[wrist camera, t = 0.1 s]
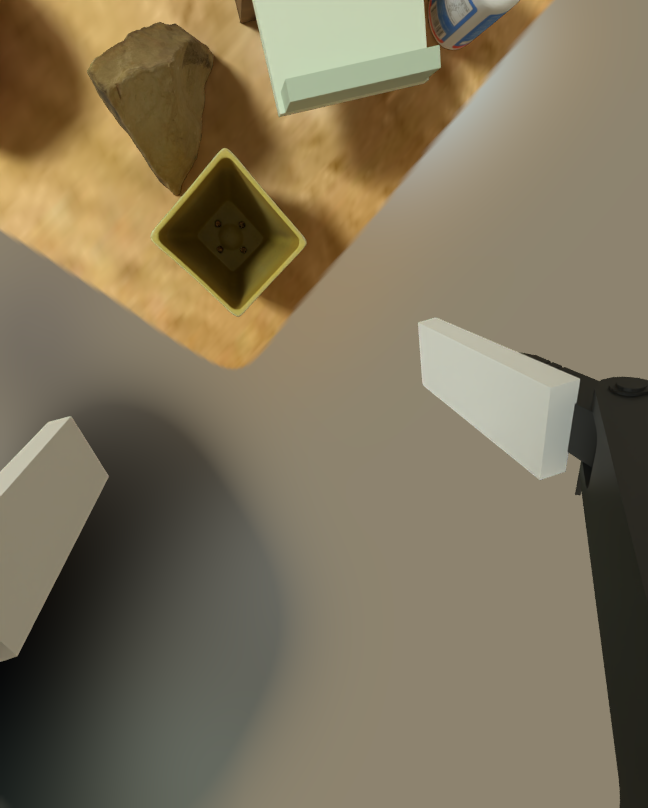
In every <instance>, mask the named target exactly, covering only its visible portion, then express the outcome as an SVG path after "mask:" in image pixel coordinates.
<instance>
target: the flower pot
mask: <svg viewBox="0 0 648 808" xmlns="http://www.w3.org/2000/svg"><path fill="white" fill-rule="evenodd" d="M216 221H220V222H221V226H220V227H217V226H216V225H215V222H216ZM240 222H244V224H245V227H244V228H240V226H239V223H240ZM151 240H152V241H153V243H154V244H155V245H157V246H158V247H159V248H160V249H161V250H162V251H163V252H164V253H166V254H167V255H168V256H169V257H170V258H172V259H173V260H174V261H175V262H176V263H177V264H178V265H180V266H181V267H182V268H183V269H184V270H185V271H187V272H188V273H189V274H190V275H191V276H192V277H193V278H194V279H195V280H197V281H198V282H199V283H200V284H201V285H202V286H203V287H204V288H205V289H206V290H207V291H208V292H210V293H211V294H212V295H213V296H214V297H215V298H216V299H217V300H218V301H219V302H220V303H221V304H222V305H223V306H224V307H225V308H226V309H227V310H228V311H230V312H231V313H232V314H233V315H235V316H237V317H239V316H241V315H242V314H243V313H244V312H245V311H246V310H247V309H248V308H249V306H250V305H251V304H252V303H253V302H254V301H255V300H256V299H257V298H258V297H259V296H260V295H261V293H262V292H263V291H264V290H265V289H266V288H267V287H268V286H269V285H270V284H271V283H272V282H273V281H274V280H275V279H276V277H277V276H278V275H279V274H280V273H281V272H282V271H283V270H284V269H285V268H286V267H287V266H288V265H289V264H290V263H291V262H292V261H293V259H294V258H295V257H296V256H297V255H298V254H299V253H300V252H301V251H302V250H303V249H304V247H305V246H306V244H307V242H306V239H305V237H304V236H303V235H302V234H301V233H300V231H299V230H298V229H297V228H296V227H295V226H294V224H293V223H292V222H291V221H290V220H289V219H288V217H287V216H286V215H285V214H284V213H283V212H282V211H281V209H280V208H279V207H278V206H277V205H276V204H275V202H274V201H273V200H272V199H271V198H270V196H269V195H268V194H267V193H266V192H265V191H264V189H263V188H262V187H261V186H260V185H259V184H258V182H257V181H256V180H255V179H254V178H253V176H252V175H251V174H250V173H249V171H248V170H247V169H246V168H245V167H244V165H243V164H242V163H241V162H240V161H239V159H238V158H237V157H236V156H235V155H234V154H233V153H232V152H231V151H230V150H229V149H227V148H223V149H222V150H220V151H219V152H218V153H217V155H216V156H215V157H214V158H213V159H212V161H211V162H210V163H209V164H208V165H207V167H206V168H205V169H204V170H203V172H202V173H201V174H200V175H199V177H198V178H197V179H196V180H195V181H194V183H193V184H192V185H191V186H190V187H189V189H188V190H187V191H186V192H185V193H184V195H183V196H182V197H181V198H180V199H179V200H178V202H177V203H176V204H175V205H174V206H173V208H172V209H171V210H170V211H169V212H168V213H167V214H166V215H165V217H164V218H163V219H162V220H161V221H160V222H159V224H158V225H157V226H156V227H155V229H154V230H153V231H152V233H151ZM219 246H221V247H222V248H223V251H222V252H218V250H217V248H218V247H219ZM241 247H245V248H246V252H245V253H242V252H241V250H240V249H241Z"/></svg>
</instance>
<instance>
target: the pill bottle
mask: <svg viewBox="0 0 648 808" xmlns="http://www.w3.org/2000/svg"><path fill="white" fill-rule="evenodd" d="M519 1H520V0H430V1H429V7H428V17H429V24H430V28H431V31H432V34H433V36H434V37H435V39H436V41H437V42H438V43H439V44H440V45H441V46H443V47H444V48H446V49H450V50H457V49H460V48H462V47H464V46H466V45H467V44H469V43H470V42H471V41H473V40H474V39H475V38H476V37H477V36H479V35H480V34H481V33H482V32H483V31H485V30H486V29H487V28H488V27H490V26H491V25H492V24H493V23H494V22H496V21H497V20H498V19H499V18H500V17H502V16H503V15H504V14H505V13H506V12H508V11H509V10H510V9H511V8H512V7H513V6H514V5H516V4H517V3H518V2H519Z"/></svg>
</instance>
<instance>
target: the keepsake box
mask: <svg viewBox="0 0 648 808" xmlns="http://www.w3.org/2000/svg"><path fill="white" fill-rule="evenodd" d="M235 1H236V5H237V10H238V14H239V18H240V22H241V23H243V22H248V21H252V20H256V15H255V11H254V6H253V2H252V0H235Z"/></svg>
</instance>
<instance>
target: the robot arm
mask: <svg viewBox="0 0 648 808" xmlns="http://www.w3.org/2000/svg"><path fill="white" fill-rule="evenodd" d="M418 329H419V343H420V356H421V370H422V384H423V386H425V387H426V388H427V389H428V390H430V391H431V392H432V393H433V394H434V395H436V396H437V397H438V398H439V399H441V400H442V401H443V402H444V403H446V404H447V405H448V406H449V407H450V408H452V409H453V410H454V411H456V412H457V413H458V414H459V415H460V416H462V417H463V418H464V419H465V420H467V421H468V422H469V423H470V424H471V425H473V426H474V427H475V428H476V429H478V430H479V431H480V432H481V433H483V434H484V435H485V436H486V437H488V438H489V439H490V440H491V441H492V442H494V443H495V444H496V445H497V446H498V447H500V448H501V449H502V450H504V451H505V452H506V453H507V454H509V455H510V456H511V457H512V458H513V459H515V460H516V461H517V462H518V463H520V464H521V465H522V466H523V467H524V468H526V469H527V470H528V471H529V472H531V473H532V474H533V475H534V476H535V477H537V478H538V479H539V480H542V479H545V478H548V477H551V476H554V475H557V474H560V473H563V472H565V471H566V466H567V460H568V453H570V454H572V455H573V456H575V457H576V458H578V459H579V460H581V465H580V471H579V476H578V481H577V487H576V492H575V495H580V494H581V491H582V498H583V506H584V514H585V522H586V529H587V537H588V545H589V553H590V560H591V568H592V576H593V583H594V591H595V599H596V606H597V614H598V622H599V629H600V637H601V645H602V653H603V660H604V668H605V676H606V683H607V691H608V699H609V707H610V714H611V722H612V730H613V738H614V745H615V753H616V761H617V768H618V776H619V787H620V808H648V380H644V379H640V378H632V377H612V378H607V379H603V380H601V381H597V380H595V379H592V378H590V377H588V376H585V375H583V374H580V373H578V372H575V371H573V370H570V369H568V368H565V367H564V368H562V366H561V365H558V364H556V363H551V362H550V361H549V360H546V359H544V358H541V357H539V356H536V355H531V354H525V353H520V352H516V351H514V350H511V349H509V348H507V347H504V346H502V345H500V344H497V343H495V342H493V341H490V340H488V339H485V338H483V337H481V336H478V335H476V334H474V333H471V332H469V331H467V330H464V329H462V328H460V327H457V326H455V325H453V324H450V323H448V322H446V321H443V320H441V319H439V318H432V319H428V320H425V321H421V322H418ZM107 479H108V474H107V473H106V471H105V470H104V468H103V466H102V465H101V463H100V462H99V460H98V459H97V457H96V455H95V454H94V452H93V450H92V449H91V447H90V446H89V444H88V442H87V441H86V439H85V438H84V436H83V434H82V433H81V431H80V430H79V428H78V426H77V425H76V423H75V421H74V420H73V418H72V417H71V416H69V417H66V418H62V419H59V420H55V421H51V422H48V423H47V424H46V425H45V426H44V427H43V428H42V430H40V431H39V432H38V434H36V435H35V437H34V438H33V439H32V440H31V441H30V442H29V443H28V444H27V445H26V446H25V447H24V448H23V449H22V450H21V451H20V452H19V453H18V454H17V455H16V456H15V457H14V458H13V459H12V460H11V461H10V462H9V463H8V464H7V465H6V466H5V468H3V469H2V471H1V472H0V662H1V661H4V660H7V659H10V658H13V657H16V656H18V653H19V652H20V649H21V648H22V646H23V644H24V642H25V640H26V638H27V636H28V634H29V632H30V630H31V628H32V626H33V624H34V622H35V620H36V618H37V616H38V614H39V612H40V610H41V608H42V606H43V604H44V603H45V601H46V598H47V597H48V595H49V593H50V591H51V588H52V587H53V585H54V583H55V581H56V579H57V577H58V575H59V573H60V571H61V569H62V567H63V565H64V563H65V561H66V559H67V557H68V555H69V553H70V551H71V549H72V547H73V546H74V544H75V542H76V540H77V538H78V536H79V534H80V532H81V530H82V528H83V526H84V524H85V522H86V520H87V518H88V516H89V514H90V512H91V510H92V508H93V506H94V504H95V502H96V500H97V498H98V496H99V494H100V492H101V490H102V489H103V486H104V485H105V483H106V481H107Z"/></svg>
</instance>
